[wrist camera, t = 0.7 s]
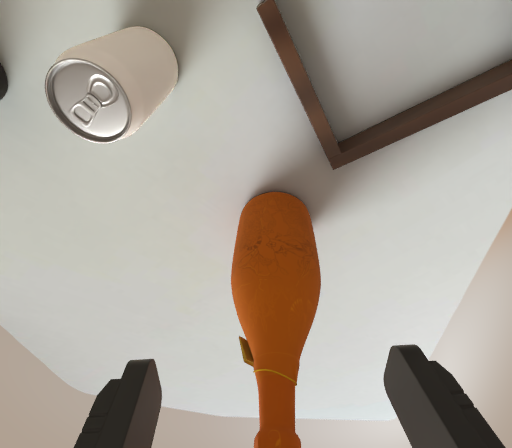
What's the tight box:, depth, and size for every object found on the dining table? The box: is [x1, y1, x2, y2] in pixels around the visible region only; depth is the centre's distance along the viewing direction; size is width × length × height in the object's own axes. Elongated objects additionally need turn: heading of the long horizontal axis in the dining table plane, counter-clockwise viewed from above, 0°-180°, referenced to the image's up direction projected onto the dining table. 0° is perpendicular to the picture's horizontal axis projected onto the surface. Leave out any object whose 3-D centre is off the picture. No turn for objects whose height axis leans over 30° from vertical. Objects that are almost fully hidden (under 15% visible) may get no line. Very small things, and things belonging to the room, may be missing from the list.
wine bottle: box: [231, 192, 321, 448], centre depth 29 cm, size 10×10×30 cm
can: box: [45, 26, 178, 143], centre depth 25 cm, size 6×6×12 cm
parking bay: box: [256, 0, 512, 170], centre depth 26 cm, size 17×20×2 cm
